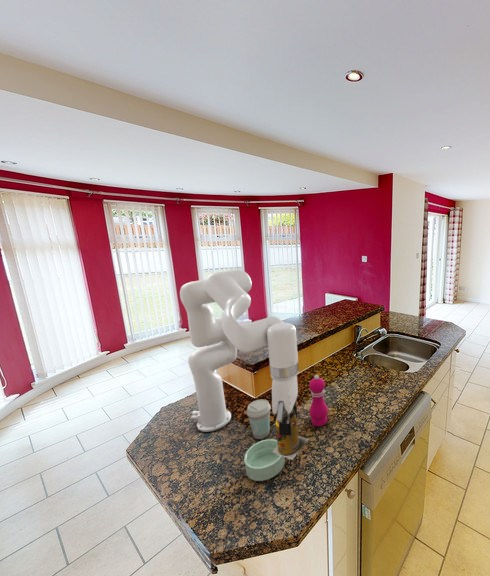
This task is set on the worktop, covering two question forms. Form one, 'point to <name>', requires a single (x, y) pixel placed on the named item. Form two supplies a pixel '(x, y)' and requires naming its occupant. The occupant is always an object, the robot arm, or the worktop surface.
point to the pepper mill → (318, 402)
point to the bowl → (263, 460)
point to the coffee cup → (259, 418)
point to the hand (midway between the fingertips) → (289, 425)
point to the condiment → (289, 439)
